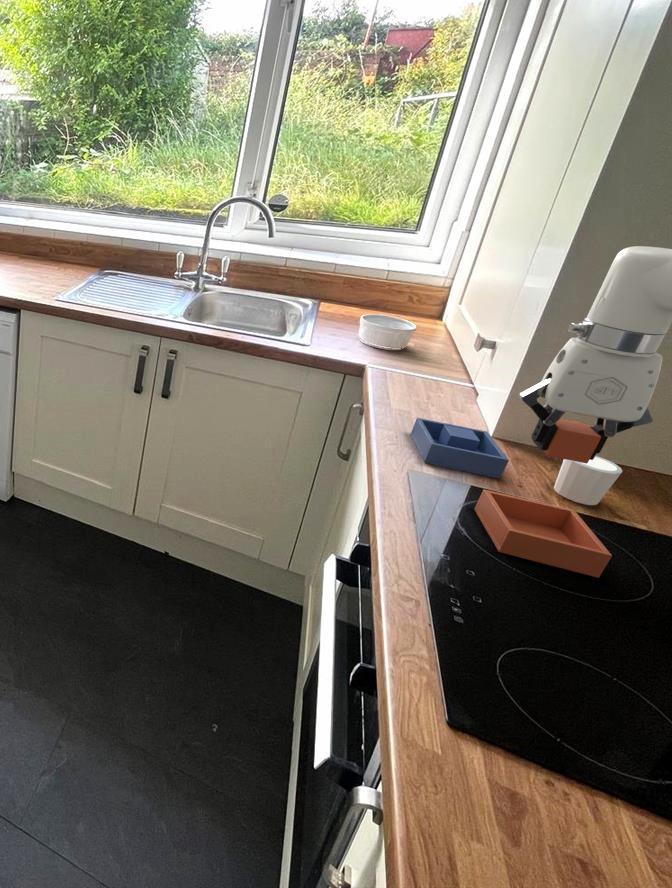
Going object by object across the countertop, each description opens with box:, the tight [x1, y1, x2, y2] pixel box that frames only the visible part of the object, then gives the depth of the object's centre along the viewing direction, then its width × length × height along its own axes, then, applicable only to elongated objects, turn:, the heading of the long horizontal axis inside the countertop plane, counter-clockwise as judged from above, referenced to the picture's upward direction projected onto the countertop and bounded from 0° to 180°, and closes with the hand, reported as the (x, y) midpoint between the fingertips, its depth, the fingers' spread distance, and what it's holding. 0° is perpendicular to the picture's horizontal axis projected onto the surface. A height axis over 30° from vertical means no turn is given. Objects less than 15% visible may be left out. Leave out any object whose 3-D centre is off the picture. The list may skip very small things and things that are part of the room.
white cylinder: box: [553, 454, 624, 506], centre depth 101 cm, size 7×7×7 cm
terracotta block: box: [542, 418, 601, 463], centre depth 86 cm, size 4×4×4 cm
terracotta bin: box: [473, 489, 613, 579], centre depth 89 cm, size 11×11×4 cm
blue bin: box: [409, 417, 510, 480], centre depth 112 cm, size 11×11×4 cm
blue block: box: [436, 425, 480, 452], centre depth 112 cm, size 4×4×4 cm
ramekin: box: [358, 313, 417, 351], centre depth 167 cm, size 13×13×7 cm
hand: (562, 449), depth 87 cm, fingers closed on terracotta block, 4 cm apart
